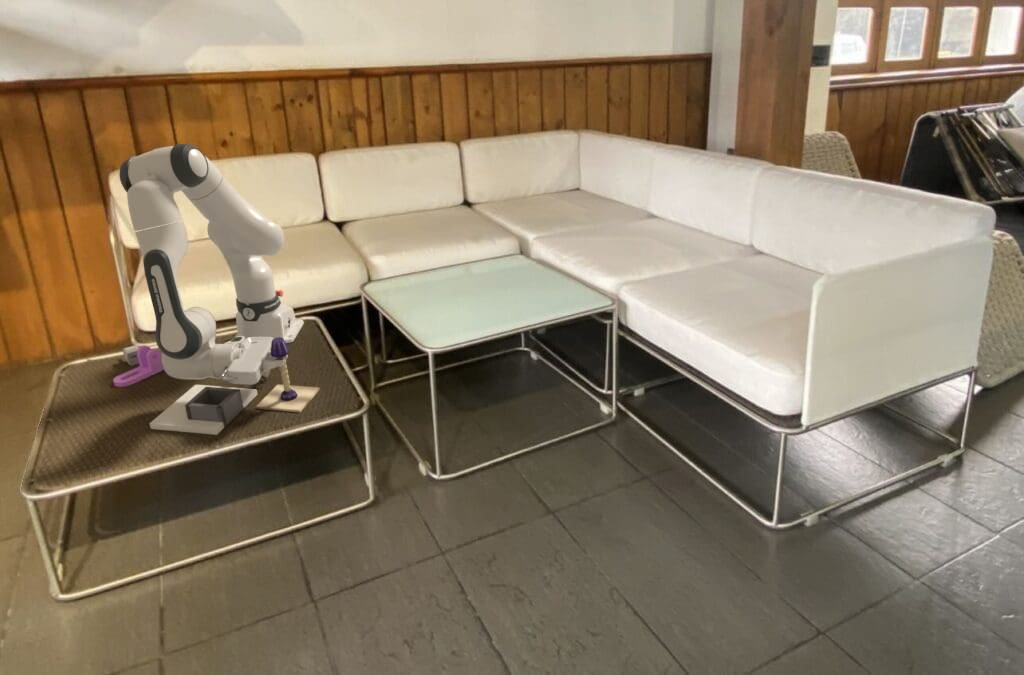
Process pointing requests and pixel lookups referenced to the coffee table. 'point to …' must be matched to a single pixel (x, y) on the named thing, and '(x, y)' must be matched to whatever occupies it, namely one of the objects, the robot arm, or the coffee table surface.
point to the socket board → (204, 409)
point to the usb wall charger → (131, 355)
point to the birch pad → (295, 405)
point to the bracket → (141, 367)
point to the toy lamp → (280, 351)
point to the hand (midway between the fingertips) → (285, 359)
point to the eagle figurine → (264, 375)
